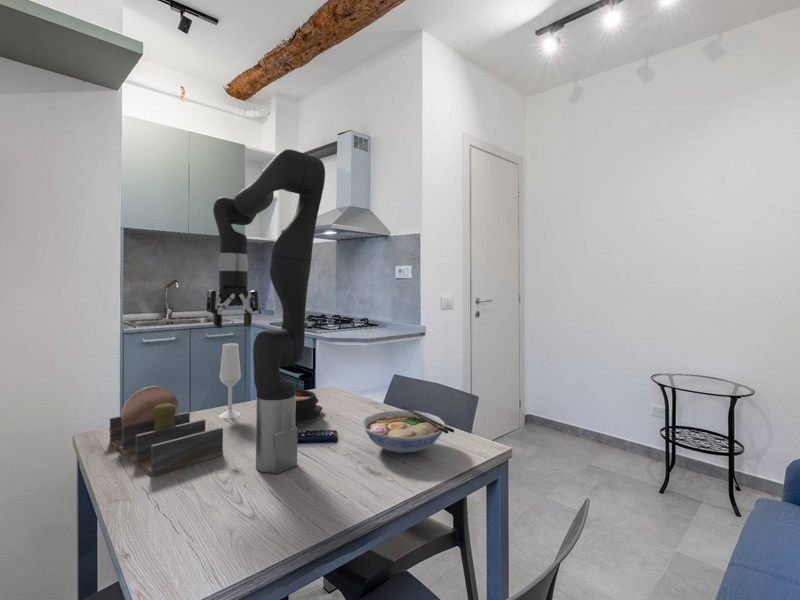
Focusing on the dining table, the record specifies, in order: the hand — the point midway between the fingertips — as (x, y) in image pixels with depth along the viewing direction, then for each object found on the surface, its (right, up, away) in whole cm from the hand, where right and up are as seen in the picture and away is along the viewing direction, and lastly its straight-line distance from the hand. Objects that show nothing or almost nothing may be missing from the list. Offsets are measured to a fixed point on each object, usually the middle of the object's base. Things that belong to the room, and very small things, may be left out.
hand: (233, 327), depth 116 cm
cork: (-15, -31, -8) cm, 35 cm away
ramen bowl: (+48, -33, -4) cm, 59 cm away
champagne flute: (-10, -31, +21) cm, 39 cm away
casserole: (+12, -32, +18) cm, 39 cm away
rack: (-15, -32, -7) cm, 36 cm away
